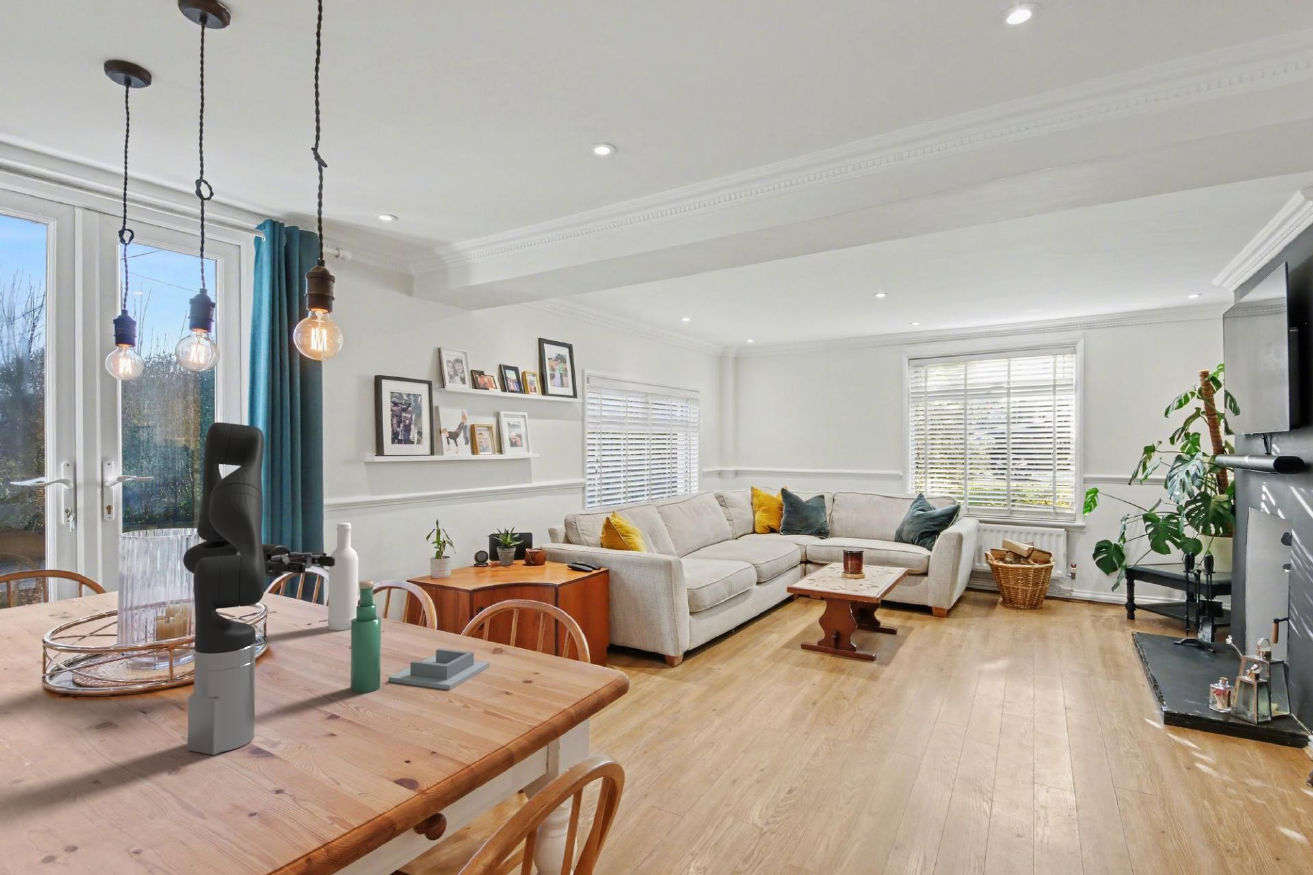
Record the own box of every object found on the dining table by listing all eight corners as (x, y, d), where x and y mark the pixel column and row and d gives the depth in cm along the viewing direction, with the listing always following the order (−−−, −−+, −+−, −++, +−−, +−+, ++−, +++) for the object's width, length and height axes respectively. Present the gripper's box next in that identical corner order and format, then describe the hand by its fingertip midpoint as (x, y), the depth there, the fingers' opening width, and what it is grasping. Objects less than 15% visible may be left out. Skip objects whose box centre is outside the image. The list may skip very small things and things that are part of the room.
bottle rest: (450, 689, 149) (450, 671, 149) (388, 681, 153) (388, 663, 153) (489, 666, 164) (489, 650, 164) (431, 660, 169) (432, 643, 169)
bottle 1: (363, 624, 201) (364, 521, 201) (348, 631, 193) (349, 525, 193) (337, 623, 202) (338, 521, 202) (321, 630, 194) (323, 524, 194)
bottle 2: (367, 694, 145) (368, 585, 146) (344, 691, 147) (345, 583, 147) (386, 685, 151) (387, 580, 151) (363, 682, 153) (364, 578, 153)
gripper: (236, 548, 151) (294, 553, 146) (288, 539, 165) (343, 543, 160) (235, 582, 151) (293, 588, 146) (288, 570, 165) (342, 575, 160)
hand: (319, 565), depth 153 cm, fingers open, 8 cm apart
